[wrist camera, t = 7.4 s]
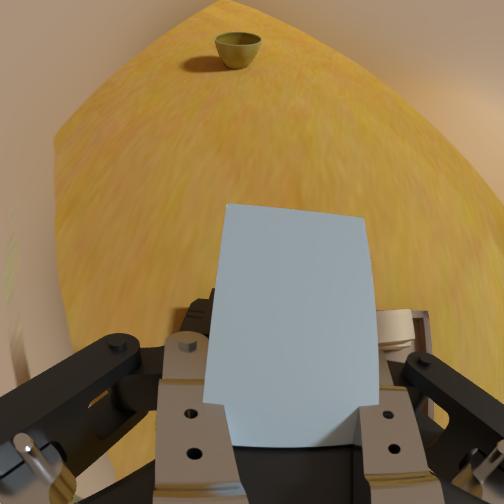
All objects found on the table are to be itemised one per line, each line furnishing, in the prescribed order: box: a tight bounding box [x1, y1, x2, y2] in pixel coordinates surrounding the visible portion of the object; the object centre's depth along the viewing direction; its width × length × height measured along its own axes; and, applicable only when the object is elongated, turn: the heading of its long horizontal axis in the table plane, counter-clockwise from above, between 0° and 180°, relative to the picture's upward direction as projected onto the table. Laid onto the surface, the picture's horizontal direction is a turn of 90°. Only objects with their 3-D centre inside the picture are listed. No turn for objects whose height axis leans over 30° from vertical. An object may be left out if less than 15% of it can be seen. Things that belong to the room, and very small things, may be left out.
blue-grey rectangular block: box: [203, 203, 379, 447], centre depth 10 cm, size 3×5×11 cm, turn 176°
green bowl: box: [215, 32, 262, 69], centre depth 53 cm, size 10×10×7 cm
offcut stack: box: [376, 309, 415, 351], centre depth 26 cm, size 9×4×4 cm, turn 86°
